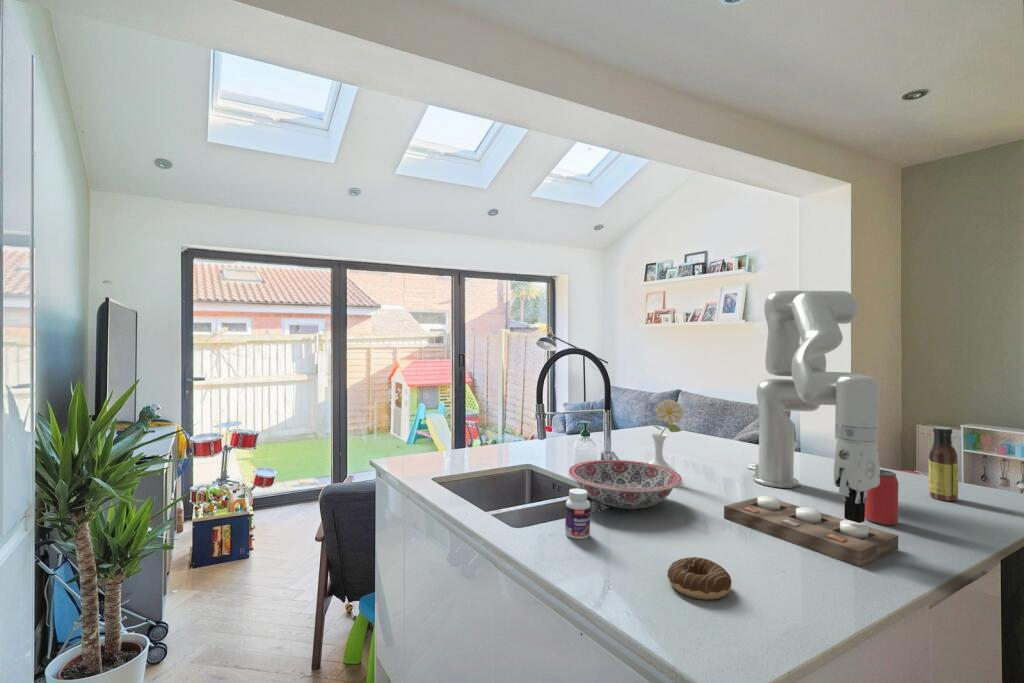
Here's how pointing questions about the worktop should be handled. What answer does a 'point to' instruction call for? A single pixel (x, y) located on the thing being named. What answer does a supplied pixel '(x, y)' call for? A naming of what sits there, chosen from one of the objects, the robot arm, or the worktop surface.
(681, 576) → the donut
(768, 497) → the left button
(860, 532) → the right button
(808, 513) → the middle button
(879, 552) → the button board
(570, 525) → the pill bottle
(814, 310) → the robot arm
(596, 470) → the ceramic bowl
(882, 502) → the beer can
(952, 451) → the sauce bottle
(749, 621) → the worktop surface
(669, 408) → the flower in vase
